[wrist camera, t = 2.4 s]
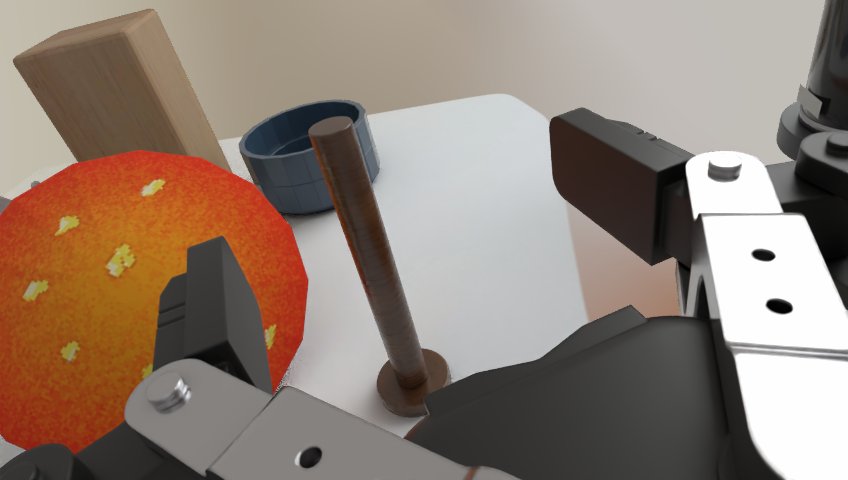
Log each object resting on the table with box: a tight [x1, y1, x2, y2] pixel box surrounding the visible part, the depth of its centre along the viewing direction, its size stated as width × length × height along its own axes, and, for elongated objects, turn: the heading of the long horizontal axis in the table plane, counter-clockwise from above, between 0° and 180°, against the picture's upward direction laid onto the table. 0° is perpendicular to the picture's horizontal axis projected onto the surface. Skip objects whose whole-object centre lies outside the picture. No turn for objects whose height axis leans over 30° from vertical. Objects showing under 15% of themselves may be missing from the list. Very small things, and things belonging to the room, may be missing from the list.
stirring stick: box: [308, 116, 451, 417], centre depth 28 cm, size 5×5×18 cm
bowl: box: [239, 100, 380, 214], centre depth 56 cm, size 13×13×7 cm
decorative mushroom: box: [0, 150, 308, 454], centre depth 34 cm, size 15×21×15 cm
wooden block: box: [13, 9, 232, 173], centre depth 54 cm, size 10×10×20 cm
